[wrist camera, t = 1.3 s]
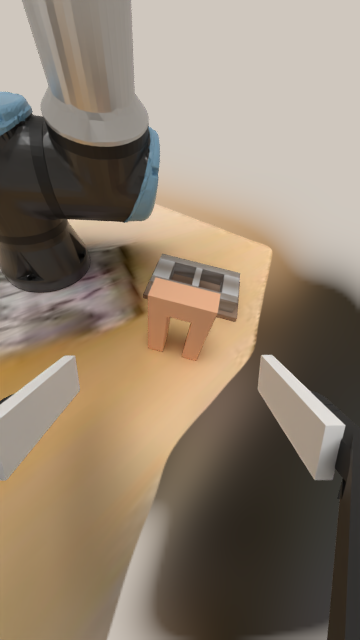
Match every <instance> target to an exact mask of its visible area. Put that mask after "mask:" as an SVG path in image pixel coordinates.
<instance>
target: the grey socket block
mask: <svg viewBox="0 0 360 640" xmlns="http://www.w3.org/2000/svg"><path fill="white" fill-rule="evenodd" d="M155 278H160V279H164V280H168V281H172V282H176V283H180V284H184V285H188V286H192V287H196V288H199V289H203V290H207V291H211V292H215V293H219V294H220V301H219V307H218V313H217V316H216V317H219V318H223V319H227V320H231V321H236V319H237V311H238V298H239V286H240V282H239V280H240V273H237V272H233V271H229V270H225V269H221V268H217V267H213V266H209V265H205V264H201V263H197V262H193V261H189V260H185V259H181V258H177V257H173V256H169V255H166V254H162V256H161V258H160V260H159V261H158V263H157V266H156V268H155V270H154V272H153V274H152V277H151V279H150V281H149V283H148V285H147V287H146V290H145V292H144V294H143V298H146V299H148V294H149V291H150V289H151V287H152V285H153V282H154V280H155Z"/></svg>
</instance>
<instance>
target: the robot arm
mask: <svg viewBox="0 0 360 640" xmlns="http://www.w3.org/2000/svg"><path fill="white" fill-rule="evenodd" d="M22 2H23V5H24V8H25V11H26V14H27V18H28V21H29V24H30V27H31V30H32V34H33V37H34V40H35V43H36V46H37V50H38V53H39V56H40V59H41V63H42V66H43V69H44V72H45V75H46V79H47V82H48V85H49V87H48V89H47V91H46V93H45V95H44V97H43V99H42V102H41V111H42V115H43V117H41V116H34V115H33V114H32V109H31V107H30V105H29V104H28V102H27V101H26V99H25V98H24V97H23V96H22V95H19V94H13V93H10V92H0V269H1V271H2V273H3V274H4V275H5V277H6V278H7V279H8V280H9V282H10V283H11V284H13V285H14V286H16V287H18V288H20V289H23V290H26V291H32V292H47V291H54V290H58V289H62V288H64V287H67V286H69V285H71V284H73V283H75V282H76V281H78V280H79V279H80V278H82V277H83V276H84V274H85V273H86V272H87V270H88V268H89V265H90V258H89V254H88V251H87V248H86V246H85V244H84V243H83V242H82V240H81V239H80V238H79V236H78V235H77V234H76V232H75V231H74V230H73V228H72V227H71V225H70V224H69V223H68V220H67V219H77V220H97V221H117V222H124V223H125V222H129V221H143V220H146V219H147V218H149V216H150V215H151V213H152V211H153V208H154V204H155V199H156V193H157V186H158V171H159V162H160V144H159V137H158V134H157V132H156V131H155V130H153V129H152V128H149V127H148V113H147V111H146V109H145V107H144V105H143V104H142V103H141V101H140V100H139V99H138V97H137V96H136V94H135V93H134V66H133V43H132V42H133V41H132V40H133V39H132V15H131V14H132V13H131V0H22ZM79 391H80V386H79V379H78V372H77V365H76V358H75V356H63V357H62V358H61V359H59V360H58V361H57V362H55V363H54V364H53V365H51V366H50V367H49V368H48V369H46V370H45V371H44V372H42V373H41V374H40V375H38V376H37V377H36V378H34V379H33V380H32V381H31V382H29V383H28V384H27V385H25V386H24V387H23V388H21V389H20V390H19V391H17V392H16V393H14V394H12V395H10V396H8V397H6V398H4V399H2V400H1V401H0V480H7V479H8V478H9V477H10V475H11V474H12V473H13V472H14V470H15V469H16V468H17V467H18V466H19V464H20V463H21V462H22V461H23V459H24V458H25V457H26V456H27V455H28V453H29V452H30V451H31V450H32V448H33V447H34V446H35V445H36V444H37V442H38V441H39V440H40V439H41V437H42V436H43V435H44V434H45V432H46V431H47V430H48V429H49V428H50V426H51V425H52V424H53V423H54V421H55V420H56V419H57V418H58V417H59V415H60V414H61V413H62V412H63V410H64V409H65V408H66V407H67V406H68V404H69V403H70V402H71V401H72V399H73V398H74V397H75V396H76V394H77V393H78V392H79ZM258 391H259V393H260V394H261V396H262V397H263V399H264V401H265V402H266V404H267V405H268V407H269V408H270V410H271V412H272V413H273V415H274V416H275V418H276V420H277V421H278V423H279V424H280V426H281V428H282V429H283V430H284V432H285V434H286V435H287V437H288V439H289V440H290V442H291V443H292V445H293V447H294V448H295V450H296V451H297V453H298V455H299V456H300V458H301V459H302V461H303V462H304V464H305V466H306V467H307V469H308V470H309V472H310V473H311V475H312V477H313V478H314V480H333V476H334V472H335V468H336V470H337V471H338V472H339V474H340V475H341V476H342V482H341V486H340V490H339V494H338V499H340V501H339V512H338V523H337V535H336V546H335V558H334V568H333V580H332V591H331V602H330V614H329V626H328V637H327V640H360V428H359V427H358V426H357V425H356V424H355V423H354V422H352V421H351V420H350V419H349V418H348V417H347V416H346V415H345V414H343V413H342V412H341V411H340V410H339V409H338V408H337V407H336V406H334V405H333V404H332V403H331V402H330V401H329V400H328V399H327V398H326V397H324V396H322V395H320V394H319V393H317V392H310V391H309V390H308V389H307V388H306V387H305V386H304V385H303V384H302V383H301V382H300V381H299V380H297V379H296V378H295V377H294V376H293V375H292V374H291V373H290V372H289V371H288V370H287V369H286V368H285V367H284V366H283V365H282V364H281V363H280V362H279V361H278V360H277V359H276V358H275V357H274V356H273V355H261V361H260V371H259V381H258Z"/></svg>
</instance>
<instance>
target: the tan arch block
mask: <svg viewBox="0 0 360 640" xmlns="http://www.w3.org/2000/svg"><path fill="white" fill-rule="evenodd" d="M219 301H220V294H219V293H215V292H211V291H207V290H203V289H199V288H196V287H192V286H188V285H184V284H180V283H176V282H172V281H168V280H164V279H160V278H155V280H154V282H153V285H152V287H151V289H150V291H149V294H148V348H150V349H154V350H157V351H161V352H163V349H164V346H165V342H166V339H167V335H168V328H169V321H170V317H172V318H175V319H179V320H183V321H187V322H191V324H190V327H189V331H188V334H187V338H186V341H185V345H184V349H183V353H182V357H184V358H187V359H191V360H195V361H196V359H197V357H198V355H199V353H200V351H201V348H202V346H203V344H204V342H205V340H206V337H207V335H208V333H209V331H210V329H211V327H212V324H213V322H214V320H215V318H216V316H217V313H218V307H219Z"/></svg>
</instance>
